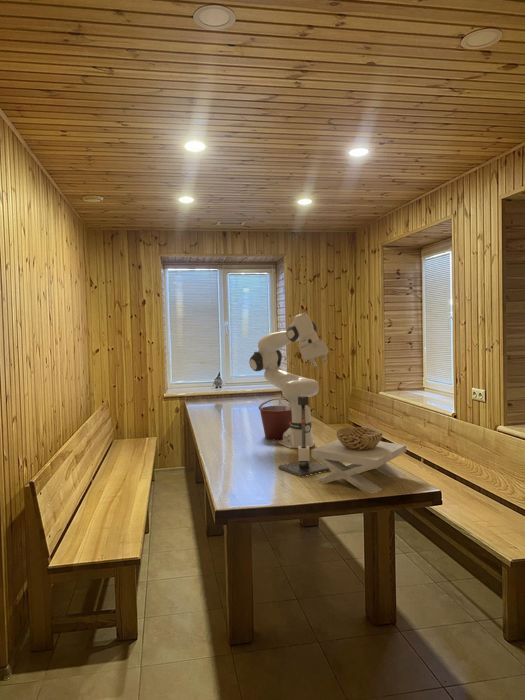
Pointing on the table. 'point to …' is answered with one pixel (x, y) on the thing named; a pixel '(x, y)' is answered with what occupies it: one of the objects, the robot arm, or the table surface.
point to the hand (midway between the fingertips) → (320, 364)
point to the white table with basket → (358, 456)
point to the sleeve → (303, 453)
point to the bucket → (275, 420)
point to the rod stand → (303, 466)
